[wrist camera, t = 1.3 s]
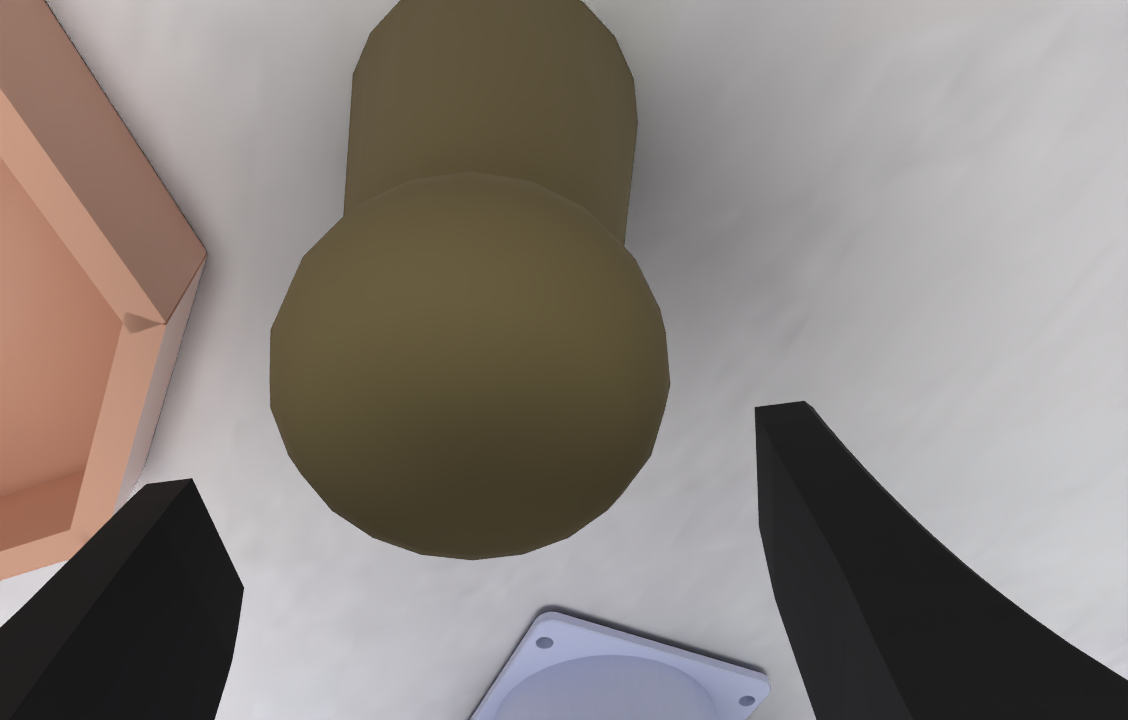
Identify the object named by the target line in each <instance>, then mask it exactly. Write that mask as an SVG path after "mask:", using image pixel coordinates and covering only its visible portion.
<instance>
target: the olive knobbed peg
mask: <svg viewBox="0 0 1128 720" xmlns="http://www.w3.org/2000/svg"><path fill="white" fill-rule="evenodd" d="M637 124H638V120H637V110H636V99H635V89H634V79H633V76H632V74H631V72H630V70H629V67H628V65H627V63H626V61H625V58H624V56H623V54H622V52H621V49H620V47H619V45H618V43H617V40H616V38H615V36H614V35H613V34H612V33H611V32H610V31H609V30H608V29H607V28H606V27H605V26H604V24H603V23H602V22H601V21H600V20H599V19H598V18H597V17H596V16H595V15H594V14H593V12H592V11H591V10H590V9H589V8H588V7H587V6H586V5H585V4H584V3H583V2H582V1H580V0H400V1H399V2H398V4H397V5H396V6H395V7H394V8H393V9H392V10H391V11H390V12H389V13H388V14H387V15H386V17H385V18H384V19H383V20H382V21H381V22H380V23H379V24H378V25H377V26H376V27H375V29H374V30H373V31H372V32H371V33H370V35H369V38H368V40H367V42H366V45H365V47H364V49H363V52H362V54H361V56H360V59H359V61H358V64H357V66H356V68H355V71H354V73H353V81H352V96H351V111H350V126H349V141H348V156H347V171H346V186H345V201H344V216H343V218H342V219H341V220H340V221H339V222H338V223H337V224H336V225H335V226H334V227H332V228H331V229H330V230H329V231H328V232H327V233H326V234H325V235H324V236H323V237H322V238H321V239H320V240H319V241H318V242H317V243H316V244H315V245H314V246H313V247H312V248H311V249H310V250H309V251H308V252H307V253H306V254H305V255H304V256H303V258H302V260H301V262H300V265H299V267H298V269H297V271H296V274H295V276H294V278H293V280H292V283H291V285H290V287H289V289H288V292H287V294H286V296H285V299H284V301H283V303H282V305H281V308H280V310H279V312H278V314H277V317H276V319H275V321H274V323H273V326H272V328H271V334H270V407H271V411H272V413H273V416H274V418H275V421H276V424H277V426H278V429H279V432H280V434H281V437H282V439H283V442H284V445H285V447H286V450H287V453H288V455H289V457H290V458H291V460H292V461H293V463H294V464H295V466H296V467H297V469H298V470H299V472H300V473H301V475H302V476H303V477H304V478H305V479H306V480H307V482H308V483H309V484H310V485H311V486H312V488H313V489H314V490H315V491H316V492H317V494H318V495H319V496H320V497H321V498H322V499H323V501H324V502H325V503H326V504H327V505H328V507H329V508H330V509H331V510H332V511H333V512H335V513H336V514H338V515H339V516H341V517H342V518H344V519H345V520H347V521H348V522H350V523H351V524H353V525H354V526H356V527H357V528H359V529H360V530H362V531H363V532H365V533H367V534H368V535H370V536H371V537H373V538H375V539H378V540H381V541H384V542H386V543H389V544H392V545H395V546H398V547H401V548H404V549H406V550H409V551H412V552H415V553H418V554H421V555H429V556H438V557H447V558H456V559H465V560H479V559H487V558H496V557H505V556H513V555H522V554H525V553H528V552H531V551H533V550H536V549H539V548H542V547H544V546H547V545H550V544H553V543H555V542H558V541H561V540H563V539H566V538H569V537H570V536H572V535H573V534H575V533H576V532H577V531H579V530H580V529H582V528H583V527H584V526H586V525H587V524H589V523H590V522H592V521H593V520H594V519H596V518H597V517H599V516H600V515H601V514H603V513H604V512H606V511H607V510H608V509H609V508H610V507H611V506H612V505H613V504H614V503H615V501H616V500H617V499H618V498H619V497H620V496H621V495H622V494H623V492H624V491H625V490H626V488H627V487H628V486H629V484H630V483H631V482H632V480H633V479H634V478H635V476H636V475H637V474H638V472H639V471H640V470H641V468H642V467H643V466H644V464H645V463H646V462H647V460H648V459H649V458H650V456H651V454H652V451H653V447H654V444H655V441H656V437H657V434H658V431H659V427H660V424H661V421H662V417H663V414H664V411H665V407H666V402H667V397H668V392H669V388H670V376H669V365H668V353H667V342H666V332H665V328H664V324H663V319H662V315H661V311H660V308H659V306H658V304H657V302H656V300H655V298H654V296H653V294H652V292H651V290H650V288H649V286H648V284H647V282H646V280H645V278H644V276H643V274H642V272H641V270H640V268H639V266H638V264H637V262H636V260H635V258H634V257H633V256H632V255H631V254H630V253H629V251H628V250H627V249H626V248H625V247H624V242H625V233H626V224H627V215H628V206H629V197H630V188H631V179H632V169H633V160H634V151H635V142H636V133H637Z"/></svg>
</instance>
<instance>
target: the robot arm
mask: <svg viewBox="0 0 1128 720" xmlns="http://www.w3.org/2000/svg"><path fill="white" fill-rule="evenodd" d="M755 427H756V455H757V483H758V511H759V528H760V533H761V538H762V542H763V547H764V552H765V556H766V561H767V566H768V570H769V574H770V579H771V583H772V588H773V592H774V596H775V600H776V603H777V606H778V609H779V612H780V615H781V618H782V621H783V624H784V627H785V630H786V633H787V635H788V638H789V641H790V644H791V647H792V650H793V653H794V656H795V659H796V662H797V665H798V667H799V670H800V673H801V676H802V679H803V682H804V685H805V688H806V691H807V693H808V696H809V699H810V702H811V705H812V708H813V711H814V714H815V716H816V719H817V720H1128V680H1126V679H1125V678H1123V677H1122V676H1120V675H1119V674H1117V673H1115V672H1114V671H1112V670H1111V669H1109V668H1107V667H1106V666H1104V665H1103V664H1101V663H1100V662H1098V661H1096V660H1095V659H1093V658H1092V657H1090V656H1089V655H1087V654H1085V653H1084V652H1082V651H1081V650H1079V649H1077V648H1076V647H1074V646H1073V645H1071V644H1070V643H1068V642H1067V641H1065V640H1064V639H1063V638H1061V637H1060V636H1058V635H1057V634H1056V633H1054V632H1053V631H1051V630H1050V629H1048V628H1047V627H1046V626H1044V625H1043V624H1041V623H1040V622H1039V621H1037V620H1036V619H1034V618H1033V617H1032V616H1030V615H1029V614H1028V613H1026V612H1025V611H1024V610H1022V609H1021V608H1020V607H1018V606H1017V605H1016V604H1014V603H1013V602H1012V601H1010V600H1009V599H1008V598H1007V597H1005V596H1004V595H1003V594H1001V593H1000V592H999V591H997V590H996V589H995V588H994V587H992V586H991V585H990V584H989V583H987V582H986V581H985V580H984V579H983V578H981V577H980V576H979V575H978V574H976V573H975V572H974V571H973V570H972V569H971V568H969V567H968V566H967V565H966V564H965V563H963V562H962V561H961V560H960V559H959V558H958V557H957V556H955V555H954V554H953V553H952V552H951V551H950V550H949V549H948V548H946V547H945V546H944V545H943V544H942V543H941V542H940V541H938V540H937V539H936V538H935V537H934V536H933V535H932V534H931V533H930V532H929V531H928V530H926V529H925V528H924V527H923V526H922V525H921V524H920V523H919V522H918V521H917V520H916V519H915V518H914V517H913V516H912V515H911V514H910V513H909V512H908V511H907V510H906V509H905V508H904V507H903V506H902V505H901V504H900V503H899V502H898V501H897V500H896V499H895V498H894V497H893V496H892V495H891V494H890V493H889V492H888V491H887V490H885V489H884V488H883V487H882V486H881V485H880V483H879V482H878V481H877V480H876V479H875V478H874V477H873V476H872V475H871V474H870V473H869V472H868V471H867V470H866V469H865V468H864V467H863V465H862V464H861V463H860V462H859V461H858V460H857V459H856V458H855V457H854V455H853V454H852V453H851V452H850V451H849V450H848V449H847V448H846V447H845V445H844V444H843V443H842V442H841V441H840V440H839V439H838V437H837V436H836V435H835V434H834V433H833V431H832V430H831V429H830V428H829V427H828V425H827V424H826V423H825V422H824V421H823V419H822V418H821V417H820V416H819V414H818V413H817V412H816V411H815V409H814V408H813V407H812V406H810V405H809V404H808V403H806V402H805V401H800V402H792V403H784V404H776V405H768V406H760V407H755ZM243 591H244V587H243V585H242V583H241V580H240V578H239V576H238V574H237V572H236V570H235V568H234V566H233V564H232V561H231V559H230V557H229V555H228V553H227V551H226V549H225V547H224V545H223V542H222V540H221V538H220V536H219V534H218V532H217V530H216V528H215V526H214V523H213V521H212V519H211V517H210V515H209V513H208V511H207V509H206V507H205V504H204V502H203V500H202V498H201V496H200V494H199V492H198V490H197V488H196V485H195V483H194V481H193V479H192V478H191V479H183V480H175V481H167V482H159V483H151V484H146V485H145V486H144V487H143V488H142V489H141V490H139V491H138V492H137V493H136V494H135V495H134V496H133V497H132V498H131V499H130V500H129V501H128V502H127V503H125V504H124V505H123V506H122V507H121V508H120V509H119V510H118V511H117V512H116V513H115V514H114V515H113V516H112V517H111V518H110V519H109V520H108V521H107V522H106V523H105V524H104V525H103V526H102V527H101V528H100V529H99V530H98V531H97V532H96V533H95V534H94V536H93V537H92V538H91V539H90V540H89V541H88V542H87V543H86V544H85V545H84V546H83V547H82V548H81V549H80V550H79V551H78V552H77V553H76V554H75V555H74V556H73V557H72V558H71V559H70V560H69V561H68V562H67V563H66V564H65V565H64V566H63V567H62V568H61V569H60V570H59V571H58V572H57V573H56V574H55V575H54V576H53V577H52V578H51V579H50V580H49V581H48V582H47V583H46V584H45V585H44V586H43V587H42V588H41V589H40V590H39V591H38V592H37V593H36V594H35V595H34V596H33V597H32V598H31V599H30V600H29V601H28V602H27V603H26V604H25V605H24V606H23V607H22V608H21V609H20V610H19V611H18V612H16V613H15V614H14V615H13V616H12V617H11V618H10V619H9V620H8V621H7V622H6V623H5V624H4V625H3V626H1V627H0V720H215V716H216V713H217V710H218V706H219V703H220V700H221V697H222V693H223V690H224V687H225V683H226V680H227V677H228V673H229V670H230V666H231V663H232V659H233V653H234V648H235V642H236V637H237V631H238V625H239V619H240V612H241V605H242V598H243ZM542 637H548V638H542ZM770 691H771V688H770V683H769V679H768V677H767V676H766V675H764V674H762V673H760V672H756V671H753V670H750V669H746V668H743V667H740V666H736V665H733V664H729V663H726V662H723V661H719V660H716V659H713V658H709V657H706V656H703V655H699V654H696V653H692V652H689V651H686V650H682V649H679V648H676V647H672V646H669V645H665V644H662V643H659V642H655V641H652V640H649V639H645V638H642V637H639V636H635V635H632V634H628V633H625V632H622V631H618V630H615V629H612V628H608V627H605V626H602V625H598V624H595V623H591V622H588V621H585V620H581V619H578V618H575V617H571V616H568V615H565V614H561V613H558V612H546V613H544V614H541V615H539V616H538V617H537V618H536V620H535V621H534V623H533V624H532V626H531V627H530V629H529V630H528V632H527V633H526V635H525V636H524V638H523V639H522V641H521V643H520V644H519V646H518V647H517V649H516V650H515V652H514V653H513V655H512V656H511V658H510V659H509V661H508V662H507V664H506V665H505V667H504V668H503V670H502V671H501V673H500V675H499V676H498V678H497V679H496V681H495V682H494V684H493V685H492V687H491V688H490V690H489V691H488V693H487V694H486V696H485V697H484V699H483V700H482V702H481V703H480V705H479V707H478V708H477V710H476V711H475V713H474V714H473V716H472V717H471V719H470V720H746V719H747V718H748V716H749V715H750V714H751V713H752V712H753V711H754V710H755V709H756V708H757V706H758V705H759V704H760V703H761V702H762V701H763V700H764V699H765V698H766V697H767V695H768V694H769V692H770Z"/></svg>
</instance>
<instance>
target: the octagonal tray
mask: <svg viewBox="0 0 1128 720" xmlns="http://www.w3.org/2000/svg"><path fill="white" fill-rule="evenodd" d="M206 253H207V252H206V250H205V248H204V247H203V245H202V244H201V242H200V241H199V239H198V238H197V236H196V235H195V233H194V231H193V230H192V228H191V227H190V225H189V224H188V222H187V221H186V219H185V218H184V216H183V214H182V213H181V211H180V210H179V208H178V207H177V205H176V204H175V202H174V201H173V199H172V197H171V196H170V194H169V193H168V191H167V190H166V188H165V187H164V185H163V184H162V182H161V180H160V179H159V177H158V176H157V174H156V173H155V171H154V170H153V168H152V167H151V165H150V163H149V162H148V160H147V159H146V157H145V156H144V154H143V153H142V151H141V149H140V148H139V146H138V145H137V143H136V142H135V140H134V139H133V137H132V136H131V134H130V132H129V131H128V129H127V128H126V126H125V125H124V123H123V122H122V120H121V119H120V117H119V115H118V114H117V112H116V111H115V109H114V108H113V106H112V105H111V103H110V102H109V100H108V98H107V97H106V95H105V94H104V92H103V91H102V89H101V88H100V86H99V85H98V83H97V81H96V80H95V78H94V77H93V75H92V74H91V72H90V71H89V69H88V67H87V66H86V64H85V63H84V61H83V60H82V58H81V57H80V55H79V54H78V52H77V50H76V49H75V47H74V46H73V44H72V43H71V41H70V40H69V38H68V37H67V35H66V33H65V32H64V30H63V29H62V27H61V26H60V24H59V23H58V21H57V20H56V18H55V16H54V15H53V13H52V12H51V10H50V9H49V7H48V6H47V4H46V3H45V1H44V0H0V580H3V579H7V578H10V577H13V576H16V575H20V574H23V573H26V572H29V571H33V570H36V569H39V568H42V567H46V566H49V565H52V564H56V563H59V562H62V561H65V560H69V559H71V558H72V557H73V556H74V555H75V554H76V553H77V552H78V551H79V550H80V549H81V548H82V547H83V546H84V545H85V544H86V543H87V542H88V541H89V540H90V539H91V538H92V537H93V536H94V534H95V533H96V532H97V531H98V530H99V529H100V528H101V527H102V526H103V525H104V524H105V523H106V522H107V521H108V520H109V519H110V518H111V517H112V516H113V515H114V514H115V513H116V512H117V511H118V510H119V509H120V508H121V507H122V506H123V505H124V504H125V503H126V501H127V499H128V497H129V496H130V494H131V492H132V490H133V488H134V486H135V484H136V482H137V480H138V478H139V476H140V474H141V472H142V470H143V468H144V466H145V463H146V459H147V456H148V453H149V449H150V446H151V442H152V439H153V436H154V432H155V429H156V426H157V422H158V419H159V416H160V412H161V409H162V405H163V402H164V399H165V395H166V392H167V389H168V385H169V382H170V379H171V375H172V372H173V368H174V365H175V362H176V358H177V355H178V352H179V348H180V345H181V342H182V338H183V335H184V331H185V328H186V325H187V321H188V318H189V315H190V311H191V308H192V305H193V301H194V298H195V294H196V291H197V288H198V284H199V281H200V278H201V274H202V271H203V268H204V264H205V261H206V257H207V255H206Z"/></svg>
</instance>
